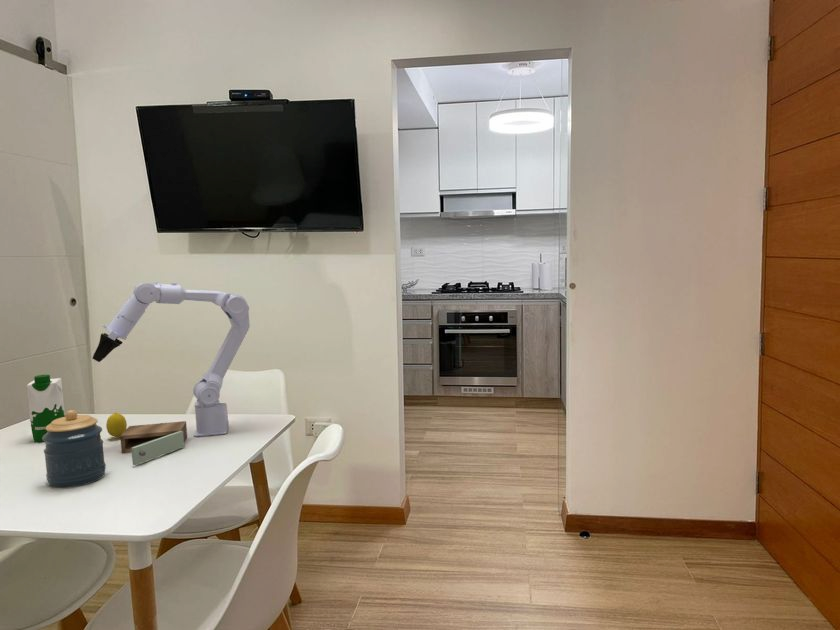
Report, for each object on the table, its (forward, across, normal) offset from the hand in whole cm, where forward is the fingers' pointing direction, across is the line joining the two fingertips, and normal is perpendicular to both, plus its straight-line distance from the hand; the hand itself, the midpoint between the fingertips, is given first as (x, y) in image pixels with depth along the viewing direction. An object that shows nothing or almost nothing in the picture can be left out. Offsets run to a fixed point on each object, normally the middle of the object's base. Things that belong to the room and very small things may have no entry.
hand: (97, 359), depth 171 cm
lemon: (+19, -13, +18) cm, 29 cm away
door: (+13, +13, +28) cm, 33 cm away
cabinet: (+13, 0, +27) cm, 30 cm away
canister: (+25, +20, +14) cm, 35 cm away
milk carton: (+30, -24, +2) cm, 38 cm away
